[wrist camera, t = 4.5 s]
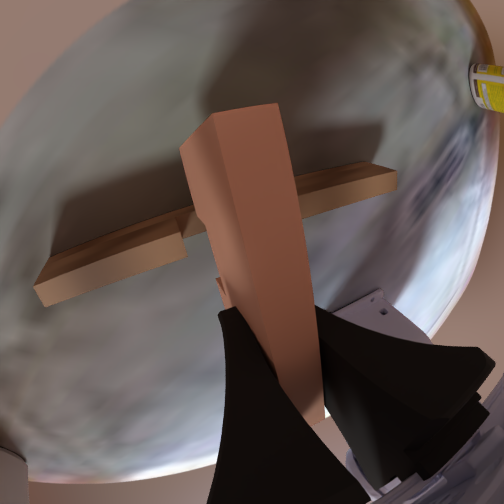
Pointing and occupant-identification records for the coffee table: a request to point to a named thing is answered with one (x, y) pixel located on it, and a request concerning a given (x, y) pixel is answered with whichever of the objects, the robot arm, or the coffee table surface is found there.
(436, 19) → the coffee table surface
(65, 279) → the walnut board
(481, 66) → the supplement bottle
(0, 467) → the beverage can
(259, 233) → the tan flat plank
